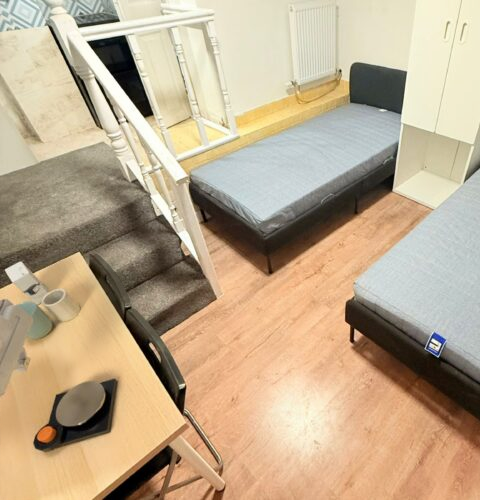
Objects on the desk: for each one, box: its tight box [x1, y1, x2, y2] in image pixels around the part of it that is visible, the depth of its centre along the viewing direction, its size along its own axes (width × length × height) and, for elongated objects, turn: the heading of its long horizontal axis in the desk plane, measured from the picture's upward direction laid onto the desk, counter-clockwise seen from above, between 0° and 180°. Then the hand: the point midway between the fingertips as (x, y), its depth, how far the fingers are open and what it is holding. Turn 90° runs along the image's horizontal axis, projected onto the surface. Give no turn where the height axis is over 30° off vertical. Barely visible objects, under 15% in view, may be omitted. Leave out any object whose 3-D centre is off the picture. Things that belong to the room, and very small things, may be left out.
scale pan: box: [56, 380, 105, 427], centre depth 81 cm, size 11×11×1 cm
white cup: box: [41, 288, 81, 322], centre depth 102 cm, size 6×6×8 cm
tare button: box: [37, 426, 57, 443], centre depth 76 cm, size 3×3×2 cm
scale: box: [32, 378, 119, 453], centre depth 81 cm, size 15×14×4 cm
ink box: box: [4, 260, 50, 306], centre depth 106 cm, size 8×5×12 cm, turn 49°
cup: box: [15, 300, 53, 340], centre depth 97 cm, size 8×8×10 cm
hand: (25, 366), depth 77 cm, fingers closed
